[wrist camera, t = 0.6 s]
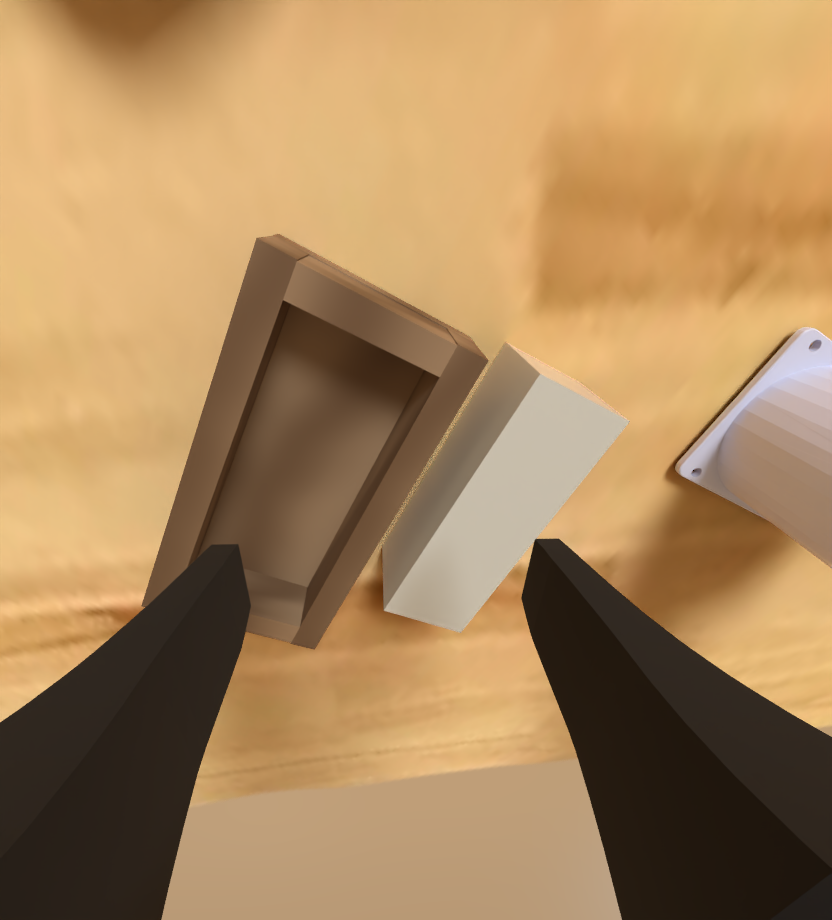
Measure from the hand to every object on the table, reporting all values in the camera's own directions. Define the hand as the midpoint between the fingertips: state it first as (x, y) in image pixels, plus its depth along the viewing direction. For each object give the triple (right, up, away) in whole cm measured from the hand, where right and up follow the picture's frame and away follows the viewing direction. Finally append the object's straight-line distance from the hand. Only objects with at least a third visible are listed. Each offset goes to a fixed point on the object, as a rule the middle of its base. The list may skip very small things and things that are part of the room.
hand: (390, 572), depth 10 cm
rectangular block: (+3, +2, +10) cm, 11 cm away
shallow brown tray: (-4, +3, +9) cm, 10 cm away
